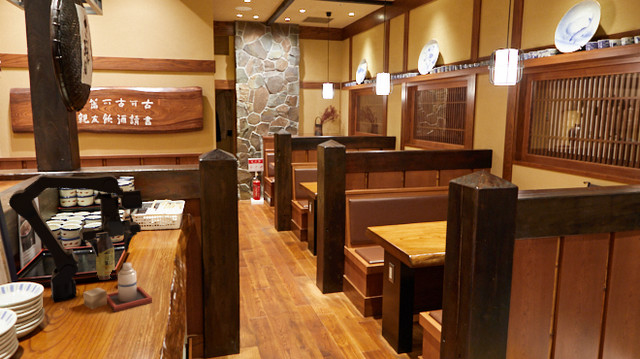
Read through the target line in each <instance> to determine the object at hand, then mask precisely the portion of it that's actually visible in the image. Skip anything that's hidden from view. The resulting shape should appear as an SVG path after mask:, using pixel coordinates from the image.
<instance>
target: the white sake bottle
mask: <svg viewBox="0 0 640 359" xmlns="http://www.w3.org/2000/svg"><path fill="white" fill-rule="evenodd" d="M137 281H138V280H137V270H135V268H133V267H132V263H131V262H123V263H122V268H121V269H120V271H118V272H117V292H118V300H119V301H121V302H129V301H133V300H135V299H136V298H137V287H138V286H137V284H138V283H137Z"/></svg>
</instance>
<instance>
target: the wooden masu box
mask: <svg viewBox="0 0 640 359" xmlns="http://www.w3.org/2000/svg"><path fill="white" fill-rule="evenodd" d="M82 294H83V305H84V306H86V307H87V308H89V309H92V310H94V309H97V308H99V307H102V306H105V305H108V303H107V294H108V291H107V290H105V289H103V288H101V287H95V288H93V289H89V290H87V291H83V293H82Z"/></svg>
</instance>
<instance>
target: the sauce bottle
mask: <svg viewBox="0 0 640 359" xmlns="http://www.w3.org/2000/svg"><path fill="white" fill-rule="evenodd" d="M98 229H102V228H101V225H100V226H98ZM111 238H112V237H109V235H108V234H102V235H98V240H97V246H98V252H99V257H97V256H96V255H95V270H96V271H97V274H96V276H97V275H98V278H99V281H107V280H111V279H112V278H111V277H110V274H111V272H112V270H114V269H115V265H116V264H115V245H114V244H113V240H112V239H111ZM115 270H116V269H115ZM96 271H95V272H96ZM110 278H111V279H110Z"/></svg>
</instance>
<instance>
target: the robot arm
mask: <svg viewBox="0 0 640 359" xmlns="http://www.w3.org/2000/svg"><path fill="white" fill-rule="evenodd" d="M47 189H71V190H72V189H73V190H75V189H76V190H79V189H80V190H81V189H82V190H91V191H96V192H97V193H96V194H95V195H94V196H93V200H95V201H96V200H99V201H100V203H99V204H100V206H99V207H100V213H99V215H100V223H101V224H100V226H101V228H102V229H99V228H98V229H95V228H93V227H86V228H85V227H84V228H80V230H78V237H79V238H80V239H81V240H82V241H85V242H87V243H89V244H90V245H91V248H92V250H93V252H94V254H95V257H96V256H97V257H99V252H98V246H97V242H98V238H96V237H97V236H99V235H102V234H108V235H109V237H110V238H115V237H119V236H120V237H122V236H123V250H124V252H125V253H127V252H128V250H129V248H130V247H129V246H130V244H131V241H132V239H133V237H135V236H137V235H138V233H141V232H142V227H141V225H140V224H139V223H138V222H136V221H130V219H125V220H122V219H121V214H120V207H121V208H122V209H124V210H125V211H128V210H129V211H130V210H139V209H140V210H141V209H143V199H142V194H141V193H142V192H141V189H134V190H124V189H123V187H120V185H119V181H118V179H117V177H116V176H115V175H113V174H110V173H104V174H97V175H91V176H69V175H68V176H63V175H62V176H61V175H47V174H42V175H40V176H39V177H38V178H37V179H36V180H34V181H33V182H31V183H30V184H29V185H27V187H25V188H24V189H18V190H16V191H15V192H13V193H12V195H11V196H10V198H9V200H8V204H9V206H10V208H11V209H12V210H13V211H14V212H15V213H16V214H17V215H18V216H20V218H22V219H23V220H25V221H26V222H27V223H28V224H29V227H31V229H32V230H33V232H34V233H35V234H36V236H37V237H38V239H39V240H40V242H42V244H43V245H44V247H45V248H46V250H47V251H48V253H49V254H50V255H51V257H52V259H53V263H54V266H55V268H54V269H53V270H52V272H51V279H50V288H51V294H50V298H51V300H52V301H53V302H54V303H58V302H63V301H67V300H72V299H76V298H77V295H76V294H77V283H76V281H75V279H74V277H75V275H76V274H77V273H78V272H79V256H78V255H77V254H75V252H74V250H73V248H70V249H69V250H68V249H66V248H65V247H64V246H63V245H62V243H61V242H60V240H59V239H58V237H57V236H56V234H55V233H54V232H53V230H52V229H51V228H50V226H49V225H48V223H47V222H46V221H45V219H44V217H43V216H42V215H41V213H40V211H39V207H38V206H37V202H36V200H35V199H36V198H38V197H39V196H40V195H41V194H42V193H43V192H44V191H46V190H47ZM119 201H120V203H119Z"/></svg>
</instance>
